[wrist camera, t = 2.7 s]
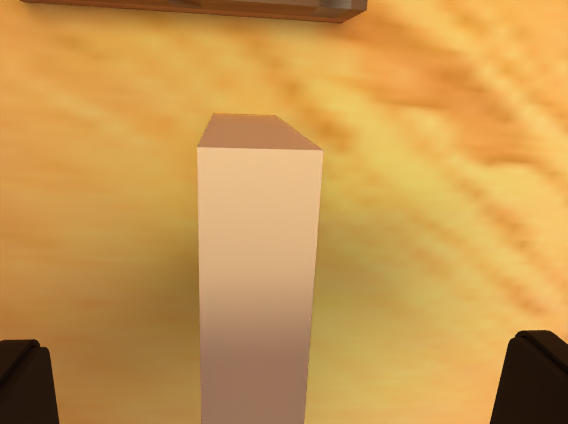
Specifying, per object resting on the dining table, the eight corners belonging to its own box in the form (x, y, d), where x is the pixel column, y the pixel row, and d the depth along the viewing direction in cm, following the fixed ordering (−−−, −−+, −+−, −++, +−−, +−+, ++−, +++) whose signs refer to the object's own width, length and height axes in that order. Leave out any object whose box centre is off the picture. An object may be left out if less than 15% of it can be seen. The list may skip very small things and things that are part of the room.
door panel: (266, 336, 20) (296, 531, 11) (214, 337, 19) (203, 541, 11) (274, 115, 17) (323, 150, 8) (213, 113, 16) (197, 147, 8)
